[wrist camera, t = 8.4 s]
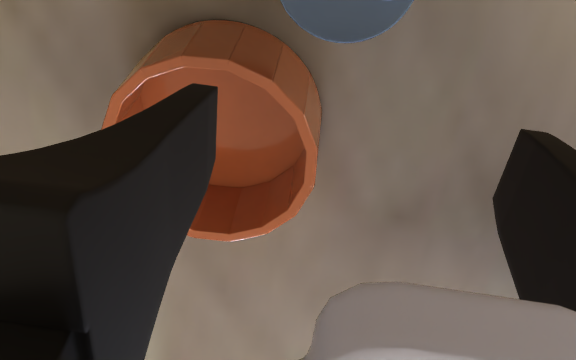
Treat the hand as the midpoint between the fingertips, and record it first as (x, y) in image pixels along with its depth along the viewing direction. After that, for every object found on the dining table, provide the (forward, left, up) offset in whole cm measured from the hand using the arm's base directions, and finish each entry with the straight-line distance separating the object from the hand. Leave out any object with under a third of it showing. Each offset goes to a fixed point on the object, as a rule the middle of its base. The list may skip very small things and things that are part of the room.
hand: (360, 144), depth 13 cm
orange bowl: (+3, +7, -10) cm, 13 cm away
